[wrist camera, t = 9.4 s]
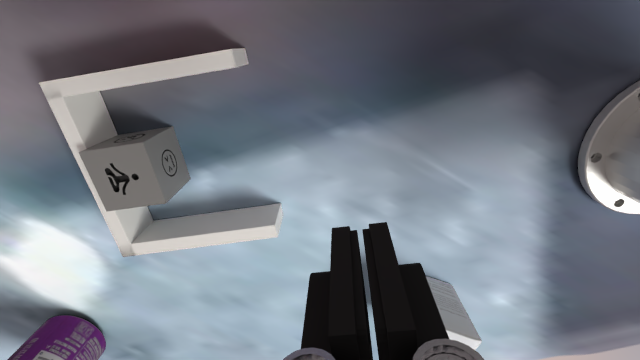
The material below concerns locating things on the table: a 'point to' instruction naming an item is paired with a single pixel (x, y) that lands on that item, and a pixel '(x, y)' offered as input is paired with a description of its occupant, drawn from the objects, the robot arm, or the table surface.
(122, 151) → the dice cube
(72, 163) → the table surface
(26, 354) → the beverage can
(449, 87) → the table surface
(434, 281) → the skincare box
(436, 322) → the robot arm
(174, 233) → the box
